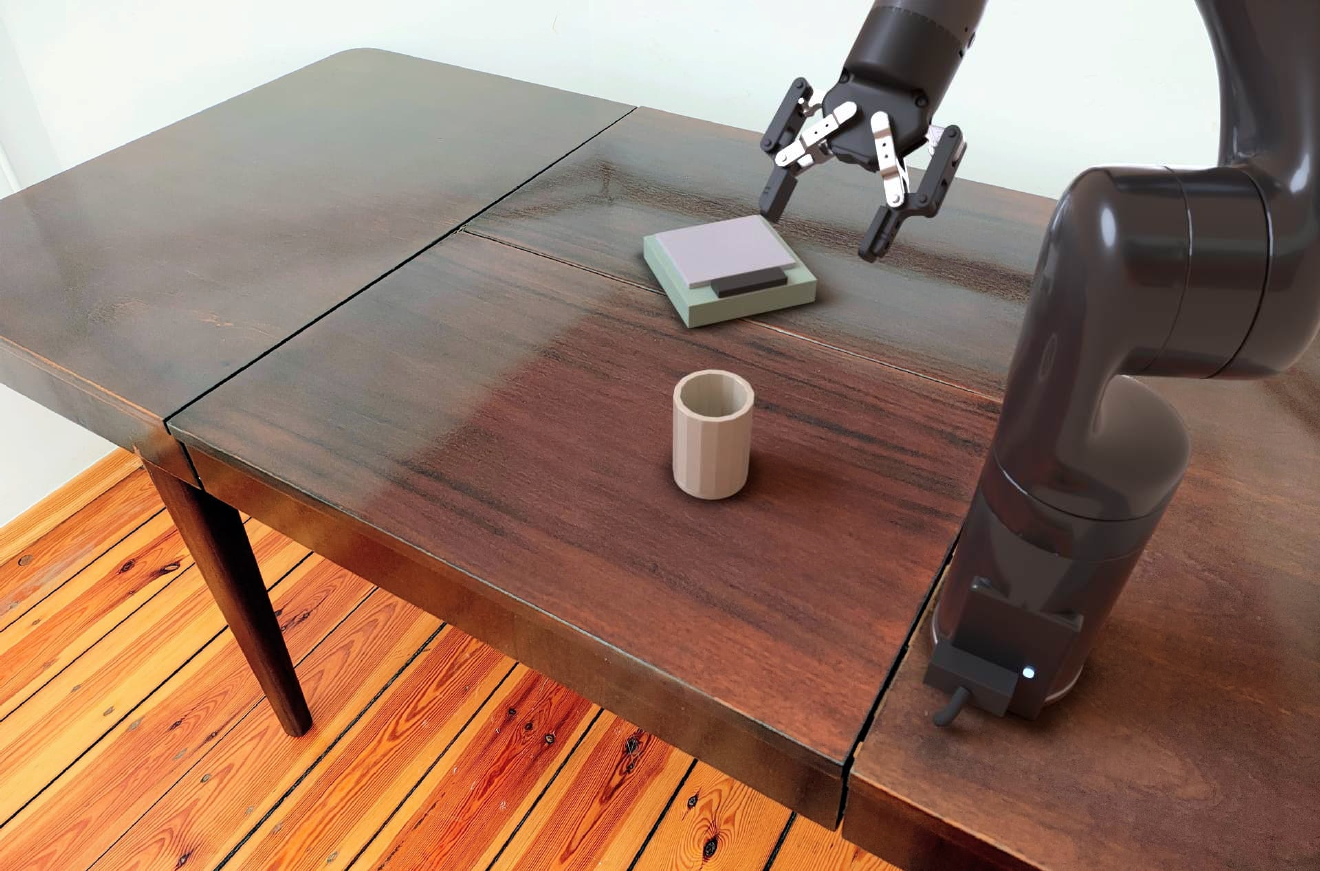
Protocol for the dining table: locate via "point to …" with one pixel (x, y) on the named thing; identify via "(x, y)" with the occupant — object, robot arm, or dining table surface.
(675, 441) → the cup
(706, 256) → the scale
